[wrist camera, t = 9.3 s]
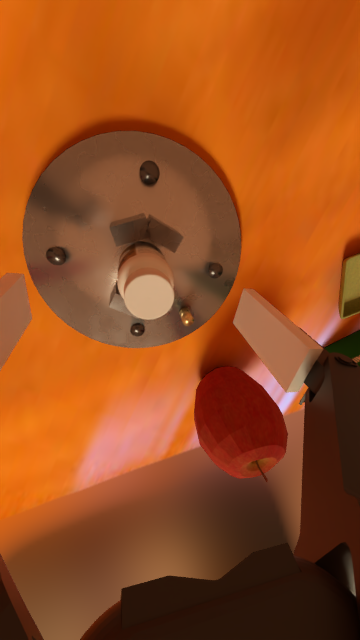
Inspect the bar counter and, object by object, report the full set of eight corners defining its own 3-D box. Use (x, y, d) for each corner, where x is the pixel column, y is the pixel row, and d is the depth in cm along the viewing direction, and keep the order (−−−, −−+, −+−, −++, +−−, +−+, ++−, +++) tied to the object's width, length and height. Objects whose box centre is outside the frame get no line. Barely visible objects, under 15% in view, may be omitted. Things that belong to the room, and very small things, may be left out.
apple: (180, 357, 30) (215, 469, 19) (252, 343, 31) (327, 439, 20) (186, 408, 36) (215, 519, 24) (247, 394, 37) (303, 493, 25)
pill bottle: (119, 237, 21) (116, 263, 14) (167, 243, 22) (186, 270, 15) (117, 283, 23) (115, 325, 16) (162, 287, 24) (176, 326, 17)
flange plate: (2, 100, 16) (-26, 82, 13) (264, 161, 20) (287, 158, 18) (42, 343, 25) (31, 364, 22) (213, 344, 30) (223, 362, 27)
